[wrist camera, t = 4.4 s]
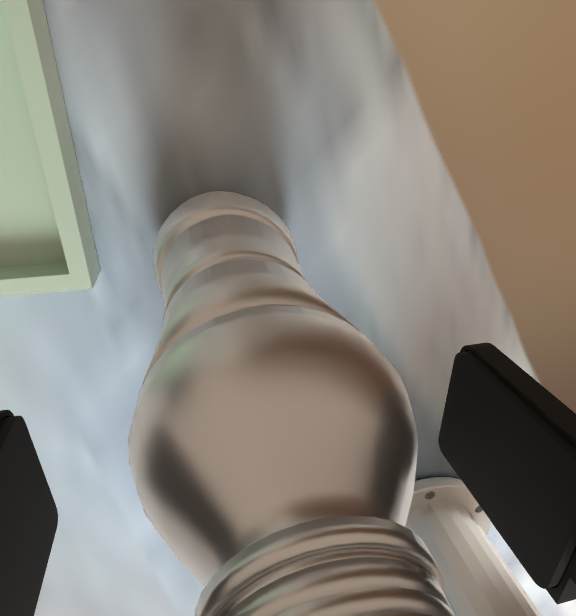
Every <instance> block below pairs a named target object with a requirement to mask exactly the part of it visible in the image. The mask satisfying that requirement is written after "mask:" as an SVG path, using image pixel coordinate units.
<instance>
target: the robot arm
mask: <svg viewBox="0 0 576 616" xmlns="http://www.w3.org/2000/svg"><path fill="white" fill-rule="evenodd" d="M439 446H440V449H441V452H442V453H443V455H444V456H445V458H446V459H447V461H448V462H449V463H450V465H451V466H452V468H453V469H454V470H455V472H456V473H457V475H458V476H459V477H460V479H456V478H451V477H434V478H427V479H421V480H418V481H415V483H414V492H413V497H412V501H411V505H410V509H409V513H408V517H407V521H406V525H405V527H406V528H408V529H410V530H412V531H413V532H414V533H415V534H416V535H417V536H418V537H420V538H421V539H422V540H423V542H424V543H425V545H426V547H427V548H428V550H429V552H430V554H431V556H432V557H433V559H434V561H435V563H436V565H437V567H438V569H439V571H440V573H441V575H442V577H443V581H444V586H445V597H446V599H447V601H448V603H449V605H450V607H451V608H452V610H453V612H454V614H455V616H542V615H541V614H540V612H539V611H538V609H537V608H536V607H535V605H534V604H533V602H532V601H531V599H530V598H529V596H528V595H527V593H526V592H525V591H524V589H523V588H522V586H521V585H520V583H519V582H518V580H517V579H516V577H515V576H514V575H513V573H512V572H511V570H510V569H509V567H508V566H507V564H506V563H505V562H504V560H503V559H502V557H501V556H500V554H499V553H498V551H497V550H496V548H495V547H494V546H493V544H492V543H491V541H490V540H489V538H488V537H487V533H488V531H489V528H490V522H492V524H493V525H494V526H495V528H496V529H497V531H498V532H499V533H500V535H501V536H502V537H503V539H504V540H505V542H506V543H507V544H508V546H509V547H510V549H511V550H512V551H513V553H514V554H515V556H516V557H517V558H518V560H519V561H520V563H521V564H522V565H523V567H524V568H525V570H526V571H527V572H528V574H529V575H530V577H531V578H532V579H533V581H534V582H535V583H536V584H537V585H538V586H539V587H541V588H543V589H545V588H546V590H547V591H548V593H549V594H550V595H551V597H552V598H553V599H554V601H555V602H556V604H560V603H564V602H567V601H571V600H574V599H576V414H575V413H574V412H573V411H572V410H570V409H569V408H568V407H567V406H566V405H564V404H563V403H562V402H561V401H560V400H558V399H557V398H556V397H555V396H553V395H552V394H551V393H550V392H549V391H548V390H546V389H545V388H544V387H543V386H542V385H540V384H539V383H538V382H537V381H536V380H534V379H533V378H532V377H531V376H530V375H528V374H527V373H526V372H525V371H524V370H522V369H521V368H520V367H519V366H518V365H516V364H515V363H514V362H513V361H512V360H510V359H509V358H508V357H507V356H506V355H504V354H503V353H502V352H501V351H500V350H498V349H497V348H496V347H495V346H494V345H492V344H490V343H481V344H473V345H466V346H464V347H463V348H462V349H461V351H460V353H457V354H456V356H455V359H454V364H453V369H452V374H451V379H450V384H449V389H448V393H447V398H446V403H445V408H444V413H443V418H442V423H441V428H440V433H439ZM57 523H58V513H57V508H56V505H55V502H54V499H53V497H52V494H51V491H50V488H49V486H48V483H47V480H46V478H45V475H44V472H43V469H42V467H41V464H40V461H39V459H38V456H37V453H36V450H35V448H34V445H33V442H32V440H31V437H30V434H29V431H28V429H27V426H26V423H25V421H24V419H23V417H22V416H14V415H13V413H12V412H11V411H10V410H2V411H0V616H34V613H35V609H36V605H37V601H38V597H39V594H40V590H41V586H42V582H43V578H44V575H45V571H46V567H47V563H48V559H49V555H50V552H51V548H52V544H53V540H54V536H55V533H56V529H57Z"/></svg>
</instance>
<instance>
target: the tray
mask: <svg viewBox="0 0 576 616" xmlns="http://www.w3.org/2000/svg"><path fill="white" fill-rule="evenodd" d="M99 273H100V267H99V262H98V257H97V253H96V248H95V243H94V239H93V234H92V229H91V225H90V220H89V215H88V211H87V206H86V201H85V196H84V192H83V187H82V182H81V178H80V173H79V168H78V164H77V159H76V154H75V150H74V145H73V140H72V136H71V131H70V126H69V122H68V117H67V112H66V108H65V103H64V98H63V94H62V89H61V84H60V80H59V75H58V70H57V66H56V61H55V56H54V52H53V47H52V42H51V38H50V33H49V28H48V23H47V19H46V14H45V9H44V5H43V0H0V297H9V296H20V295H31V294H42V293H53V292H64V291H75V290H86V289H92V288H93V286H94V284H95V282H96V280H97V277H98V275H99Z"/></svg>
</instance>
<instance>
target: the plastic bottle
mask: <svg viewBox="0 0 576 616" xmlns="http://www.w3.org/2000/svg"><path fill="white" fill-rule="evenodd" d="M153 265H154V269H155V273H156V278H157V282H158V286H159V289H160V291H161V293H162V295H163V301H164V309H165V313H164V320H163V325H162V330H161V336H160V340H159V342H158V345H157V348H156V350H155V353H154V355H153V358H152V361H151V363H150V366H149V368H148V371H147V374H146V376H145V379H144V382H143V385H142V387H141V389H140V391H139V395H138V400H137V404H136V408H135V412H134V416H133V420H132V425H131V429H130V434H129V438H128V447H129V463H130V467H131V470H132V474H133V477H134V481H135V484H136V488H137V491H138V495H139V497H140V500H141V503H142V506H143V509H144V512H145V515H146V516H147V517H148V519H149V520H150V522H151V523H152V525H153V526H154V527H155V529H156V530H157V532H158V533H159V534H160V536H161V537H162V538H163V540H164V541H165V542H166V544H167V545H168V546H169V548H170V549H171V550H172V552H173V553H174V554H175V556H176V557H177V558H178V560H179V561H180V562H181V563H182V564H183V565H184V566H185V567H186V568H187V569H188V570H189V571H190V572H191V573H192V574H193V575H194V576H195V577H196V578H197V579H198V580H199V581H200V582H201V583H202V584H203V585H204V586H205V588H204V590H203V591H202V593H201V595H200V598H199V600H198V603H197V606H196V609H195V616H455V614H454V612H453V610H452V608H451V607H450V605H449V603H448V601H447V599H446V597H445V586H444V581H443V577H442V575H441V573H440V571H439V569H438V567H437V565H436V563H435V561H434V559H433V557H432V556H431V554H430V552H429V550H428V548H427V547H426V545H425V543H424V542H423V540H422V539H421V538H420V537H418V536H417V535H416V534H415V533H414V532H413V531H412V530H410V529H408V528H406V527H405V525H406V521H407V517H408V513H409V509H410V505H411V501H412V497H413V492H414V483H415V474H416V464H417V453H418V434H417V429H416V423H415V419H414V415H413V412H412V408H411V404H410V401H409V397H408V394H407V390H406V388H405V386H404V384H403V382H402V380H401V378H400V376H399V373H398V371H397V370H396V369H395V368H394V367H393V365H392V364H391V363H390V362H389V361H388V359H387V358H386V357H385V356H384V355H383V354H382V353H381V352H380V351H379V349H378V348H377V347H376V346H375V345H374V344H373V343H372V342H371V341H370V340H369V339H368V338H367V337H366V336H365V335H364V334H363V333H361V332H360V331H359V330H358V329H357V328H355V327H354V326H353V325H352V324H351V323H350V322H348V321H347V320H346V319H345V318H344V317H342V316H341V315H340V314H339V313H338V312H337V311H335V310H334V309H333V308H332V307H331V306H329V305H328V304H327V303H326V302H325V301H323V300H322V299H321V298H320V296H319V295H318V294H317V293H316V292H315V290H314V289H313V288H312V287H311V286H310V284H309V283H308V282H307V281H306V280H305V278H304V276H303V273H302V271H301V269H300V266H299V261H298V256H297V252H296V249H295V246H294V243H293V240H292V237H291V235H290V233H289V231H288V229H287V227H286V225H285V224H284V222H283V221H282V220H281V219H280V218H279V216H278V215H277V214H276V213H275V212H273V211H272V210H271V209H270V208H269V207H267V206H266V205H265V204H263V203H261V202H259V201H257V200H255V199H253V198H251V197H248V196H244V195H241V194H238V193H235V192H225V191H216V192H207V193H204V194H200V195H197V196H195V197H193V198H191V199H189V200H187V201H185V202H184V203H182V204H181V205H180V206H179V207H178V208H177V209H175V210H174V211H173V212H172V213H171V214H170V215H169V216H168V218H167V219H166V220H165V222H164V223H163V224H162V226H161V228H160V230H159V232H158V235H157V237H156V240H155V245H154V250H153Z"/></svg>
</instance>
